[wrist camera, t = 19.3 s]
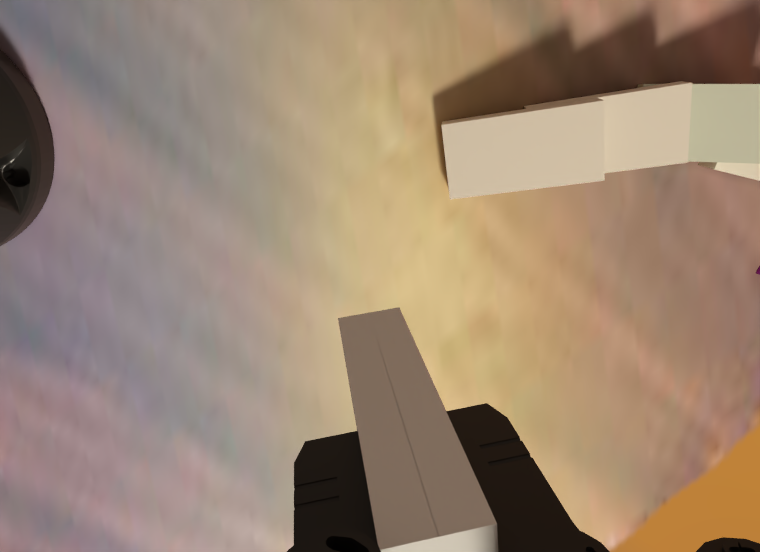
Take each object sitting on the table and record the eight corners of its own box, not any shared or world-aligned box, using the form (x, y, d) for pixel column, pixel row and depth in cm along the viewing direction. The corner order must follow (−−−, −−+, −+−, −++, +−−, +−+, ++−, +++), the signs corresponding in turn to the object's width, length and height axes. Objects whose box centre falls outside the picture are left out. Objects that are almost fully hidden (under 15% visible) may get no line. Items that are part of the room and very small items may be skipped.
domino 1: (450, 199, 35) (604, 180, 33) (441, 125, 33) (604, 100, 31) (450, 192, 37) (597, 174, 35) (442, 121, 35) (597, 98, 33)
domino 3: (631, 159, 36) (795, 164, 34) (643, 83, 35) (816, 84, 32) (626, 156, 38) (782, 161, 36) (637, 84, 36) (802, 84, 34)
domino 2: (531, 182, 36) (687, 162, 34) (526, 108, 34) (692, 82, 32) (528, 177, 37) (677, 157, 35) (523, 106, 36) (681, 81, 34)
